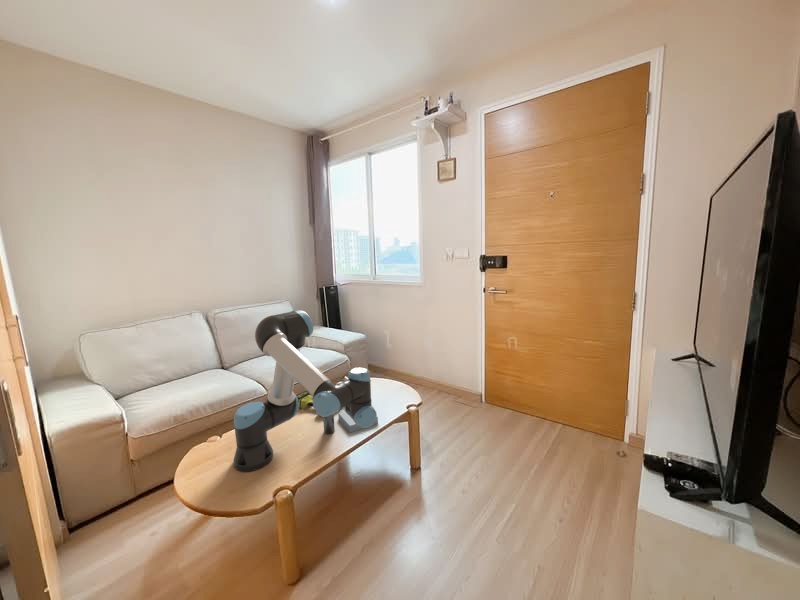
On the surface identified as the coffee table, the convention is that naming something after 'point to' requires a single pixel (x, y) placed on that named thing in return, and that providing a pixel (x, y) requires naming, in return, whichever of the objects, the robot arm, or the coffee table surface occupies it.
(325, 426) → the chuck key rod
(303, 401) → the cordless drill
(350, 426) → the slate holder
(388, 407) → the coffee table surface
